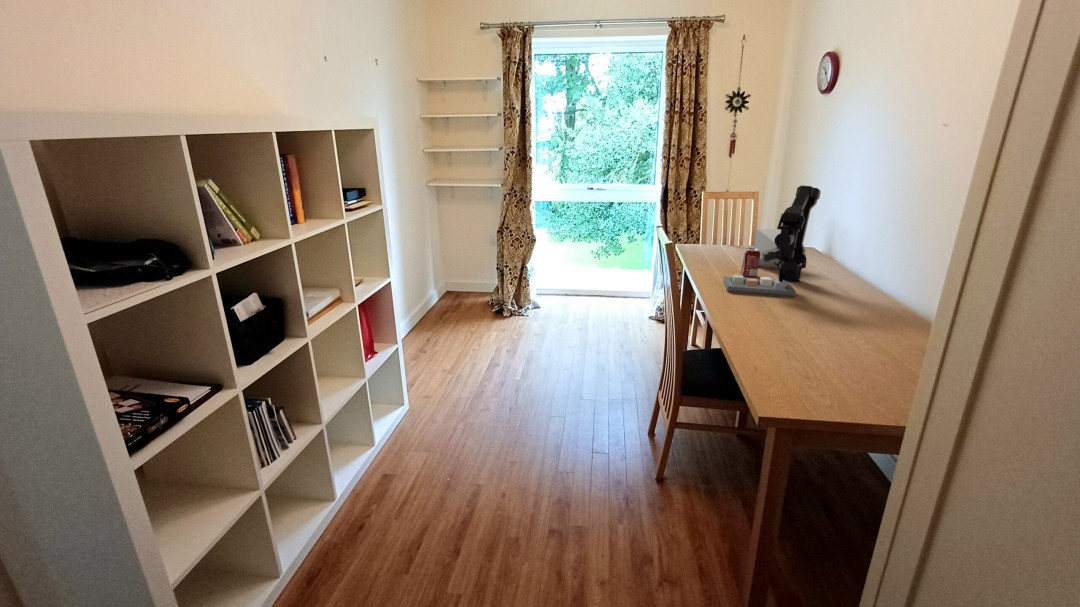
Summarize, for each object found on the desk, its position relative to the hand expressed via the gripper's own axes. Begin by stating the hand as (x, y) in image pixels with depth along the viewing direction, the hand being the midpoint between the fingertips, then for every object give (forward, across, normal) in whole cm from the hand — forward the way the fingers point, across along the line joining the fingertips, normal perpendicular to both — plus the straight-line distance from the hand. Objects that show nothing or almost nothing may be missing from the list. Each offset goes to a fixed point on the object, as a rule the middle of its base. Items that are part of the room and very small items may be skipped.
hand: (780, 281), depth 205 cm
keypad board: (+4, 0, -8) cm, 9 cm away
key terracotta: (+3, 0, -11) cm, 11 cm away
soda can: (+4, -21, -8) cm, 23 cm away
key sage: (+2, 0, -16) cm, 16 cm away
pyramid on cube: (+4, -41, +5) cm, 41 cm away
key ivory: (+2, 0, -5) cm, 6 cm away
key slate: (+3, 0, 0) cm, 3 cm away
